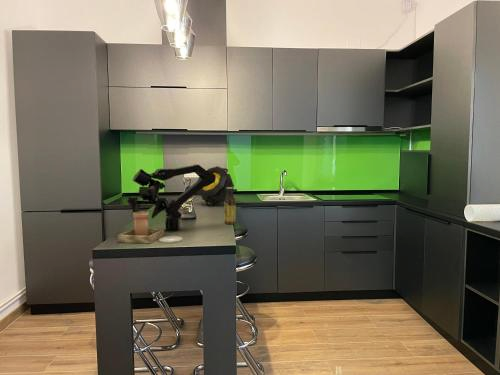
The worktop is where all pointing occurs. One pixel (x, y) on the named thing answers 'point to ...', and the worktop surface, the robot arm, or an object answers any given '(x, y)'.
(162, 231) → the pine frame
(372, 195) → the worktop surface
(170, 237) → the ceramic saucer
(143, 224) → the terracotta pot
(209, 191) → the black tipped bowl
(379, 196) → the worktop surface
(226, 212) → the sauce bottle
